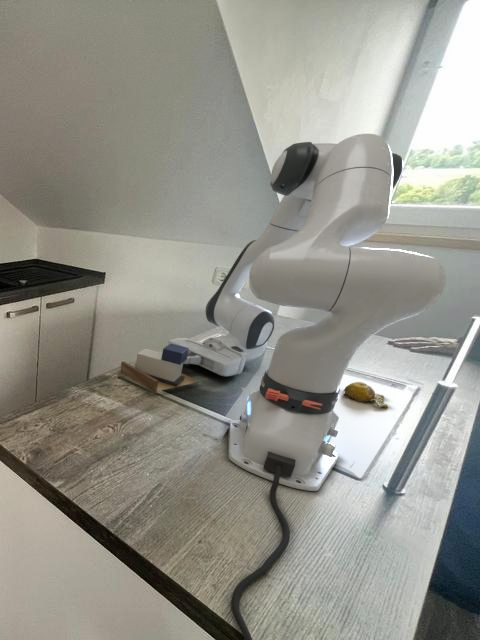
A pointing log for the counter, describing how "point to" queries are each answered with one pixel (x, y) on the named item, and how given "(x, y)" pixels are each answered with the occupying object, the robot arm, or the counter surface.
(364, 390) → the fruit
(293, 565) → the counter surface
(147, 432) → the counter surface
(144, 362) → the white block blue cap
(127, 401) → the counter surface
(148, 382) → the shoe shelf
